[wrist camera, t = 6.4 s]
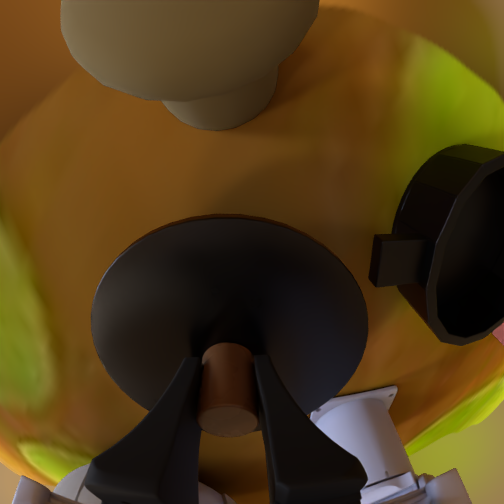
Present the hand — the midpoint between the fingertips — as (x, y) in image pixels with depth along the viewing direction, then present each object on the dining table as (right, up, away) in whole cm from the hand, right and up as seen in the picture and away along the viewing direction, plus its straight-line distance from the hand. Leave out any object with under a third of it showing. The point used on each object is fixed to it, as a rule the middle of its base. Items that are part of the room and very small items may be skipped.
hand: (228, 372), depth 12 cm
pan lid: (0, +1, +1) cm, 1 cm away
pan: (+16, +7, +4) cm, 17 cm away
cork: (-1, +14, 0) cm, 14 cm away
